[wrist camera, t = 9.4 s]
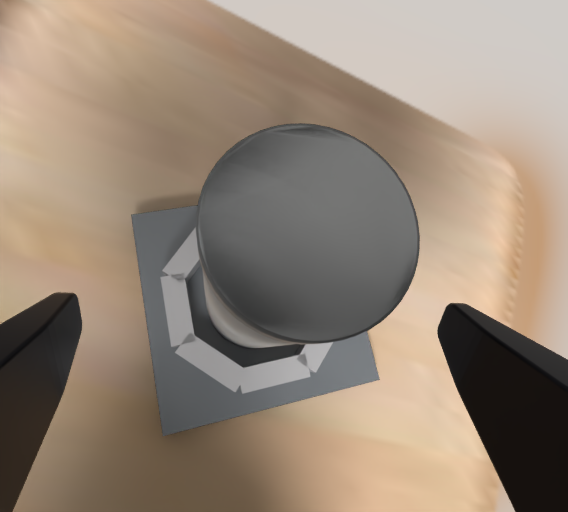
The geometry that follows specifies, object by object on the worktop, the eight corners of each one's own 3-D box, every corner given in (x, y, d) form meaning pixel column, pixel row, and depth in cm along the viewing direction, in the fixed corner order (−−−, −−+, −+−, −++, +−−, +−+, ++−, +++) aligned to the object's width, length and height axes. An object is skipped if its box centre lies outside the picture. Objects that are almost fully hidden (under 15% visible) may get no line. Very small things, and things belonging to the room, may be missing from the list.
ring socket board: (373, 378, 19) (390, 380, 17) (165, 432, 17) (158, 442, 15) (324, 192, 21) (335, 176, 20) (134, 220, 19) (125, 205, 17)
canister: (313, 336, 19) (447, 315, 8) (214, 360, 18) (219, 369, 7) (291, 243, 20) (385, 114, 9) (196, 259, 18) (177, 135, 8)
